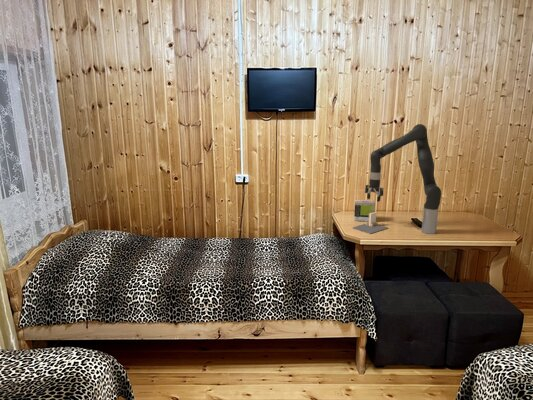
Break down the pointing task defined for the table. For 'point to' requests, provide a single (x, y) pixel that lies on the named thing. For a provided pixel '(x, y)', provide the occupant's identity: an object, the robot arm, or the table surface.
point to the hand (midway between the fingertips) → (373, 200)
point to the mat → (370, 228)
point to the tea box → (363, 209)
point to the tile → (372, 218)
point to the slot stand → (372, 224)
